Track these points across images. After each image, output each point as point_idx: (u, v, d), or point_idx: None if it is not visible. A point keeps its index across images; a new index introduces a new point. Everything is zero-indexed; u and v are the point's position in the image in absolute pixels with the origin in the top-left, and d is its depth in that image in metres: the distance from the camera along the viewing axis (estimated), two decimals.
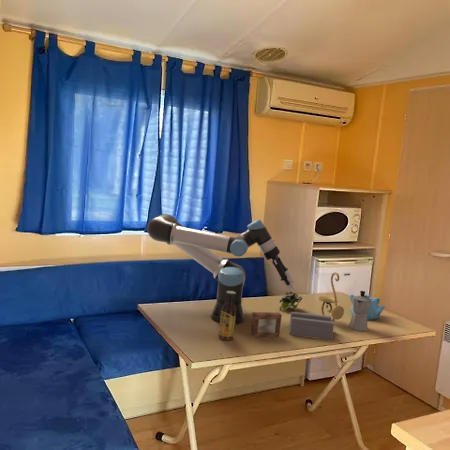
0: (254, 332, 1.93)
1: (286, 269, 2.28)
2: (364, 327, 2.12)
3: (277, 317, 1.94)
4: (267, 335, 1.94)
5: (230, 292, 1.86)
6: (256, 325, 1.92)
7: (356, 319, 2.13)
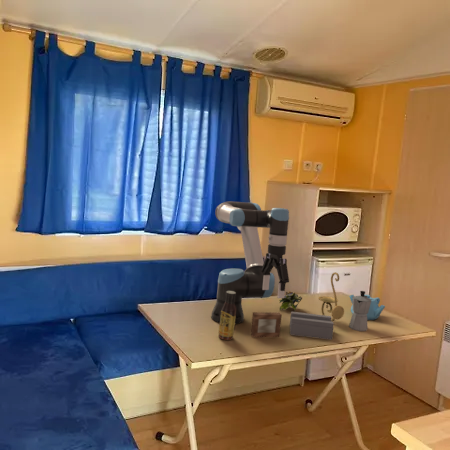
0: (254, 332, 1.93)
1: None
2: (364, 327, 2.12)
3: (277, 317, 1.94)
4: (267, 335, 1.94)
5: (230, 292, 1.86)
6: (256, 325, 1.92)
7: (356, 319, 2.13)
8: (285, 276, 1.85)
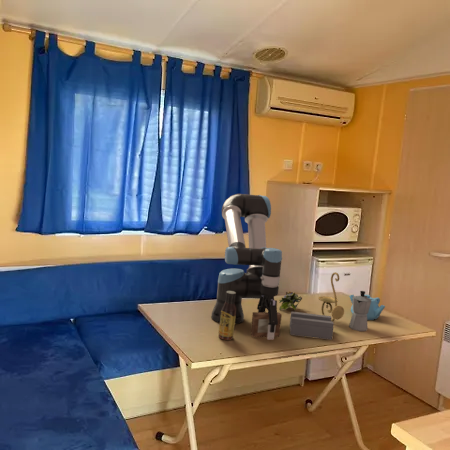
0: (254, 332, 1.93)
1: (269, 323, 1.87)
2: (364, 327, 2.12)
3: (277, 317, 1.94)
4: None
5: (230, 292, 1.86)
6: (256, 325, 1.92)
7: (356, 319, 2.13)
8: (274, 318, 1.85)
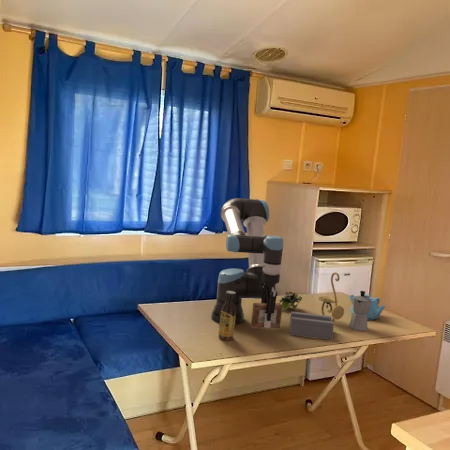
0: (255, 323, 1.93)
1: (266, 311, 1.92)
2: (364, 327, 2.12)
3: (278, 308, 1.94)
4: None
5: (230, 292, 1.86)
6: (257, 316, 1.92)
7: (356, 319, 2.13)
8: (271, 308, 1.89)
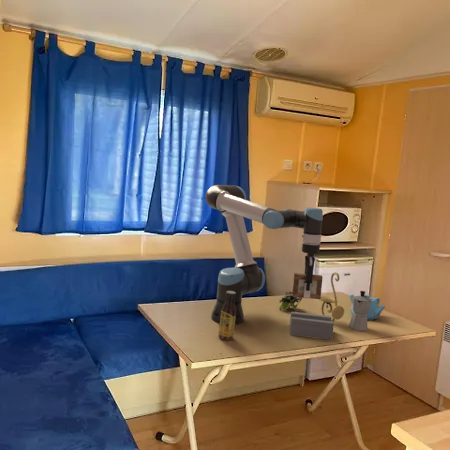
0: (294, 292, 1.99)
1: (305, 281, 1.97)
2: (364, 327, 2.12)
3: (318, 279, 1.97)
4: None
5: (230, 292, 1.86)
6: (296, 285, 1.98)
7: (356, 319, 2.13)
8: (309, 277, 1.93)
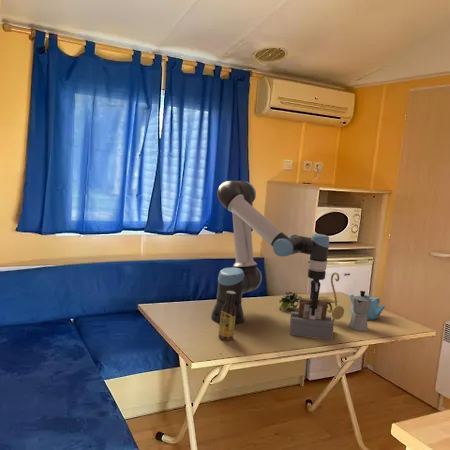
0: (299, 316, 2.03)
1: None
2: (364, 327, 2.12)
3: (323, 304, 2.01)
4: None
5: (230, 292, 1.86)
6: (301, 310, 2.02)
7: (356, 319, 2.13)
8: (314, 303, 1.97)
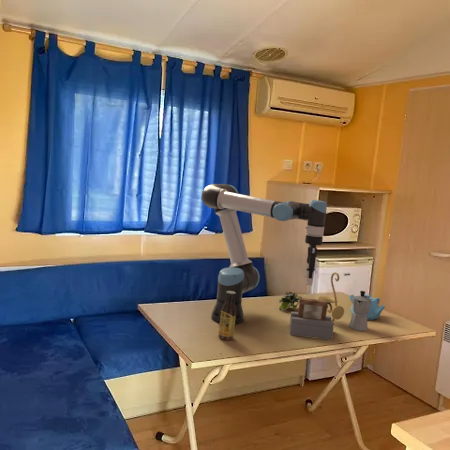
0: (299, 316, 2.03)
1: (308, 269, 1.98)
2: (364, 327, 2.12)
3: (323, 304, 2.01)
4: None
5: (230, 292, 1.86)
6: (301, 310, 2.02)
7: (356, 319, 2.13)
8: (311, 264, 1.95)
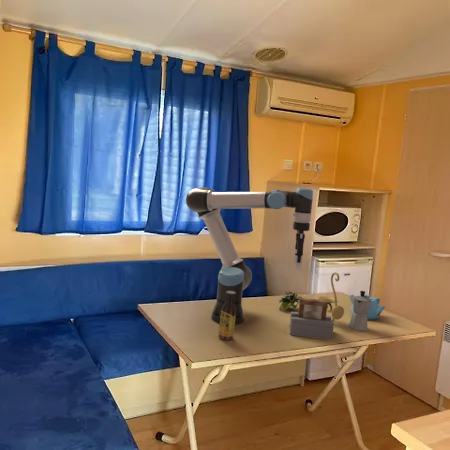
0: (299, 316, 2.03)
1: None
2: (364, 327, 2.12)
3: (323, 304, 2.01)
4: None
5: (230, 292, 1.86)
6: (301, 310, 2.02)
7: (356, 319, 2.13)
8: (299, 249, 2.04)
